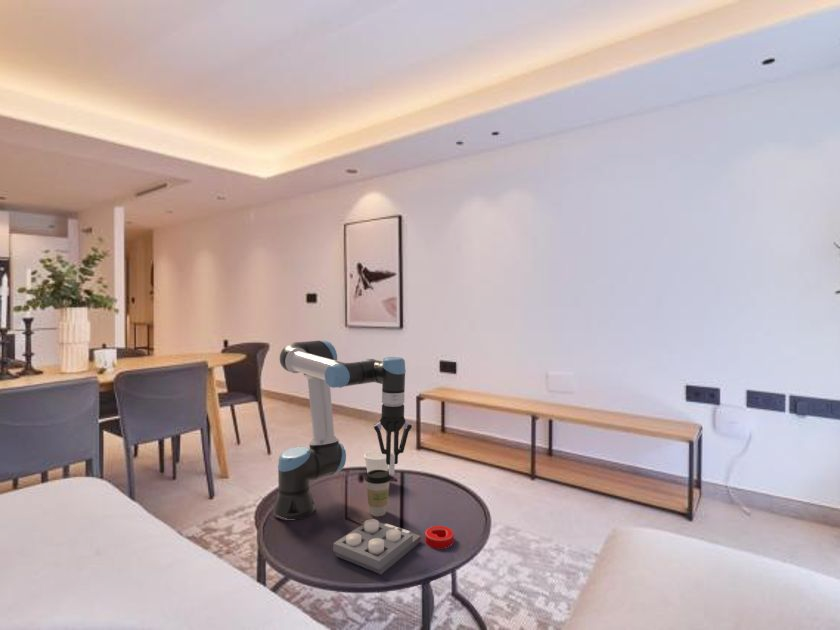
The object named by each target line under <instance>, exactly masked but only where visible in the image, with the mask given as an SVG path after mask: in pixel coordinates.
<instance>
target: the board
mask: <svg viewBox="0 0 840 630" xmlns="http://www.w3.org/2000/svg"><path fill="white" fill-rule="evenodd" d="M378 522H379V531H378V532H377V533H375V534H374V535H371V534H368V533H366V532H364V523H363V524H362V525H360V526H358V527H357V528H355V529H353V530H352V531H350V532H349V533H346V535H343V537H341V538H340V539H338V540H336V541H335V542H333V543H332V545H333V547H332V549H333V552H334V553H335V557H336V558H337V557H338V558H340V559H342V560H345V561H347V562H350V563H351V564H355V565H356V566H360V567H361V568H364V569H367V570H370V571H372V572H374V573H376V574H379V575H382V574H384V573H385V572H386V571H387V570H388V569H390V568H391V567H392V566H393V565H394V564H396V563H397V562H398V561H400V559H401V558H403V557H404V556H405V555H406V554H408V553H409V552H410V551H412V550H413V549H414V548H415V547H416V546H417V545H419V544H420V543H421V541H422V537H421V536H422V535H419V534H416V533H413V532H411V531H410V530H407V529H404V528H402V527H399V526H398V527H397V526H395V525H392V524H389V523H384V522H383V523H382V522H380V521H378ZM391 529H396V530H399V531H400V532H401V539H400V540H399V541H397V542H396V543H394V542H391V541H388V540H386V532H387V531H388V530H391ZM352 533H357V534H360V535H361V544H359V545H358V546H356V547H352V546H350V545H347V544H346V536H347V535H349V534H352ZM374 538H380V539H383V540H384V552H383V553H382V554H380V555H379V556H376V555H373V554H370V553H368V542H369V541H370V540H371V539H374Z"/></svg>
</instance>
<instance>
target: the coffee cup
mask: <svg viewBox="0 0 840 630" xmlns="http://www.w3.org/2000/svg"><path fill="white" fill-rule="evenodd" d="M391 476H392V475H390V474H389V470H387V471H385V470H372V471H369V472H367V473H366V476H365V478H364V479H365V482H366V494H367V503H368V510H369V511H368V512H369V514H370V515H371V516H373V517H382V516H384V515H386V514H387V505H388V502H389V493H390V482H391V479H392V477H391Z"/></svg>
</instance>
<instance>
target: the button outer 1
mask: <svg viewBox="0 0 840 630" xmlns="http://www.w3.org/2000/svg"><path fill="white" fill-rule="evenodd" d="M383 552H384V540H383V539H380V538H374V539H371V540H370V541H369V542H368V553H370V554H373V555H376V556H379V555H380V554H382V553H383Z"/></svg>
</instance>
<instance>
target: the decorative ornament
mask: <svg viewBox="0 0 840 630" xmlns="http://www.w3.org/2000/svg"><path fill="white" fill-rule="evenodd" d="M454 537H455V535H454V531H453V530H452V529H451V528H449V527H447V526H443V525H441V526H440V525H436V526H435V525H434V526H430V527H428V528H427V529H426V531H425V533H424V543H425V544H426V545H427V546H428V547H430V548H433V549H438V550H439V549H440V550H441V549H442V548H444V549H446V548H445V547H448V546H450V545H451V544H452V543H453V541H455V540H454V539H455V538H454ZM453 544H454V543H453ZM450 547H451V546H450ZM448 548H449V547H448ZM442 550H443V549H442Z"/></svg>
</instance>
